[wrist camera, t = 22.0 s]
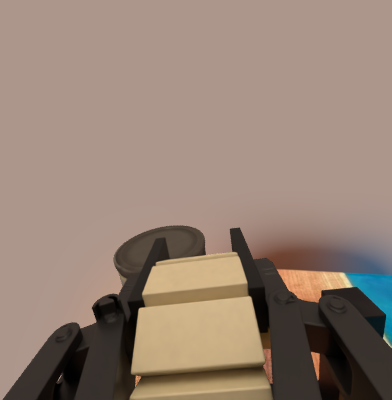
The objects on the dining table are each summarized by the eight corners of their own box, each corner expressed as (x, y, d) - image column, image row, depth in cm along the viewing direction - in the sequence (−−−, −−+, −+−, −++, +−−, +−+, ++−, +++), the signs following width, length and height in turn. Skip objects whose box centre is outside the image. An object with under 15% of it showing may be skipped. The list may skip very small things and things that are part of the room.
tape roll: (171, 586, 9) (95, 411, 6) (188, 340, 19) (164, 232, 16) (293, 584, 8) (284, 396, 5) (242, 335, 19) (229, 224, 16)
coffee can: (190, 296, 35) (175, 218, 31) (235, 339, 26) (223, 240, 22) (130, 335, 29) (103, 246, 25) (164, 404, 21) (131, 288, 17)
